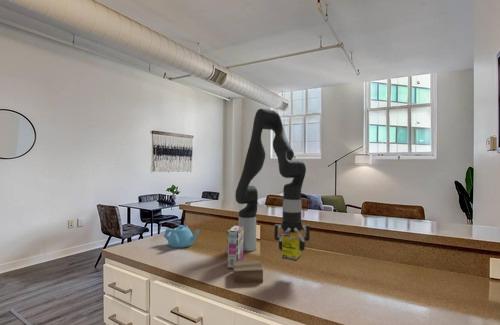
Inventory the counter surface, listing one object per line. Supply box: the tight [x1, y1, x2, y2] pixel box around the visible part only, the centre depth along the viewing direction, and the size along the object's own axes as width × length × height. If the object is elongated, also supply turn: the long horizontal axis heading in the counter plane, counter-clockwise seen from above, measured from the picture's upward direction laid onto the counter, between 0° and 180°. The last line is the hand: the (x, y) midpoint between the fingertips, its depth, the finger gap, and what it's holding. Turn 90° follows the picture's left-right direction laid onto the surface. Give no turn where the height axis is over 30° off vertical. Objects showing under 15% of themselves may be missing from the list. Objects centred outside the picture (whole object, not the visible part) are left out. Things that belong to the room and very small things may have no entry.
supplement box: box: [281, 230, 302, 262], centre depth 117 cm, size 6×6×11 cm
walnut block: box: [232, 259, 264, 284], centre depth 117 cm, size 11×11×5 cm
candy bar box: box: [226, 225, 244, 270], centre depth 131 cm, size 11×5×16 cm, turn 168°
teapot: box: [163, 224, 200, 249], centre depth 162 cm, size 15×15×11 cm
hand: (291, 250), depth 117 cm, fingers closed on supplement box, 7 cm apart
